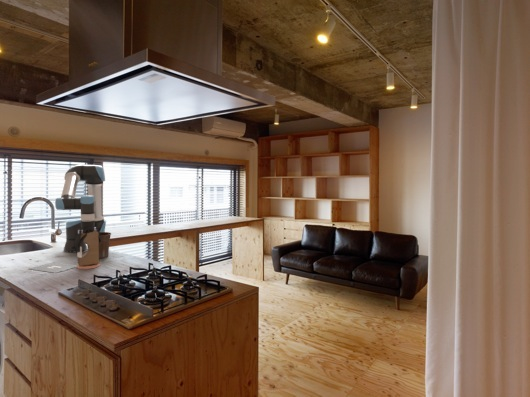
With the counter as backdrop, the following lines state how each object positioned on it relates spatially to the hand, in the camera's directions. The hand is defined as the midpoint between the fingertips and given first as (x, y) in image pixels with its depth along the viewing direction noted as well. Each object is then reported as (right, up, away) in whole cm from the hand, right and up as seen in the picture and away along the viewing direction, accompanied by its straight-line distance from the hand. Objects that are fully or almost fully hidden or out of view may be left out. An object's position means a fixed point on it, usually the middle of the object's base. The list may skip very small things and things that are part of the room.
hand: (88, 255), depth 204 cm
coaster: (0, -7, 0) cm, 7 cm away
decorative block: (0, -6, +1) cm, 6 cm away
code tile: (-18, -7, -4) cm, 20 cm away
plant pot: (-6, -6, +24) cm, 26 cm away
